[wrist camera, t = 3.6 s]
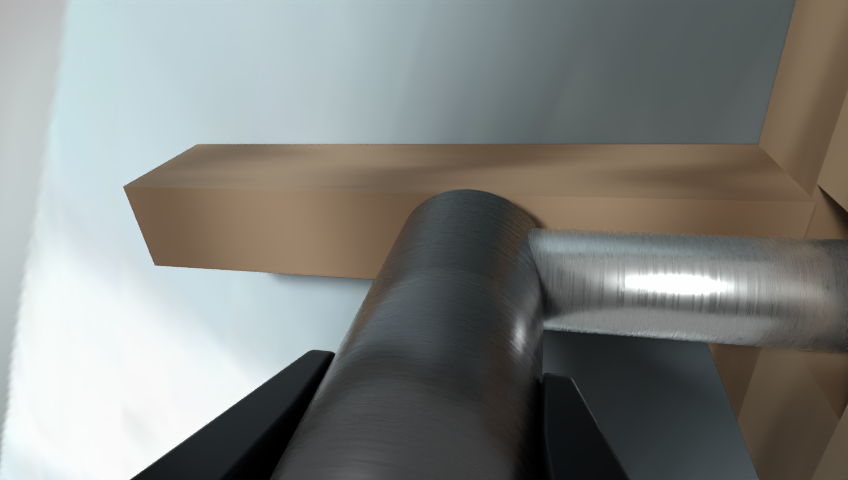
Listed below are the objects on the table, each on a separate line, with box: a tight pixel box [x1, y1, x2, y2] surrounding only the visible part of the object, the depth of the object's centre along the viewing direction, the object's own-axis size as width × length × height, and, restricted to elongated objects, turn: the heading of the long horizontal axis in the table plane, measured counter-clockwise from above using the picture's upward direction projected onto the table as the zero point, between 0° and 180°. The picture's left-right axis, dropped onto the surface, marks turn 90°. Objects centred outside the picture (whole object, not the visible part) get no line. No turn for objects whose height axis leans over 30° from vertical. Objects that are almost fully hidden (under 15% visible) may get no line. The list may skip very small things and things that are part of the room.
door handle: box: [269, 189, 848, 480], centre depth 7 cm, size 13×3×8 cm, turn 94°
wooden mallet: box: [123, 0, 848, 480], centre depth 10 cm, size 18×10×9 cm, turn 94°
